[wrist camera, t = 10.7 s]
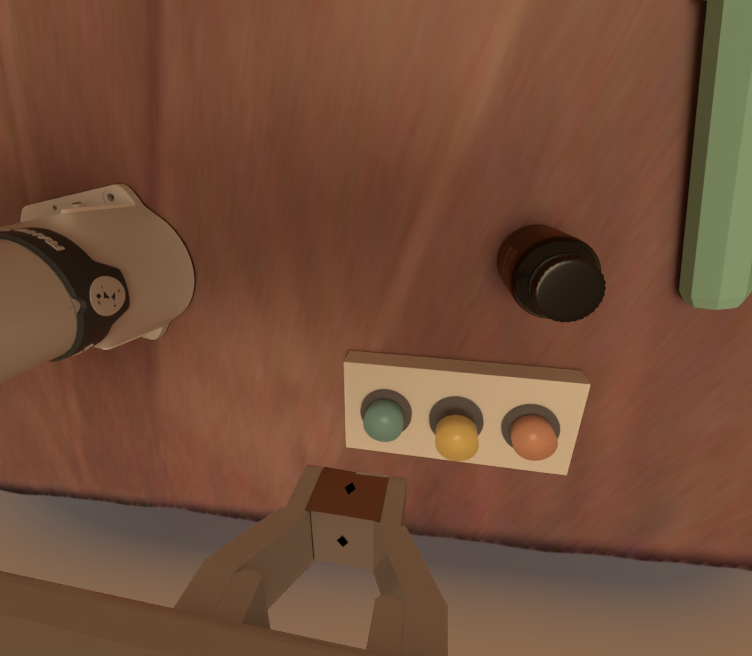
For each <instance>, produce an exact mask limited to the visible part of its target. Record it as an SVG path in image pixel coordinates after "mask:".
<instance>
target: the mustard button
mask: <svg viewBox="0 0 752 656" xmlns="http://www.w3.org/2000/svg"><path fill="white" fill-rule="evenodd" d="M435 446H436V449H437V451H438V452H439V453H440V454H441V455H442V456H443V457H444V458H446V459H449V460H452V461H465V460H468V459H470V458H472V457H473V456H474V455H475V454H476V453H477V451H478V448H479V442H478V433H477V428H476V426H475V424H474V423H473V422H472V421H471V420H470V419H468V418H467V417H464V416H461V415H450V416H447V417H445V418H443V419H441V420H440V421H439V423H438V424H437V426H436V435H435Z"/></svg>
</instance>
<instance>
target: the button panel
mask: <svg viewBox="0 0 752 656" xmlns="http://www.w3.org/2000/svg"><path fill="white" fill-rule="evenodd" d="M590 385H591V384H590V383H589V381H588V380H587V378H586V377H585V376H584V374H583V373H582V371H581V370H571V369H559V368H547V367H536V366H524V365H513V364H501V363H489V362H478V361H466V360H454V359H443V358H431V357H420V356H408V355H396V354H385V353H373V352H362V351H349V353H348V355H347V357H346V359H345V360H344V391H345V429H346V447H350V448H358V449H366V450H374V451H381V452H389V453H397V454H405V455H413V456H420V457H428V458H436V459H444V460H449V459H446V458H444V457H443V456H442V455H441V454H440V453H439V452H438V451H437V449H436V446H435V435H436V426H437V424H438V423H439V421H440V420H441V419H443V418H445V417H447V416H450V415H461V416H464V417H467V418H468V419H470V420H471V421H472V422H473V423H474V424H475V426H476V428H477V433H478V442H479V448H478V451H477V453H476V454H475V455H474V456H473V457H472V458H470V459H468V460H465V461H459V462H467V463H475V464H483V465H491V466H498V467H506V468H514V469H522V470H530V471H537V472H545V473H553V474H561V475H567V472H568V468H569V464H570V461H571V457H572V453H573V449H574V445H575V442H576V438H577V434H578V430H579V427H580V423H581V419H582V415H583V411H584V408H585V404H586V400H587V396H588V392H589V389H590ZM378 399H389V400H392V401H394V402H396V403H397V404H398V405H399V406H400V407H401V408H402V410H403V412H404V423H403V428H402V432H401V434H400V436H399V437H398V438H397V439H395V440H393V441H390V442H380V441H377V440H374V439H373V438H371V437H370V436H369V435H368V434H367V433H366V432H365V430H364V427H363V420H364V417H365V414H366V411H367V408H368V406H369V405H370V404H371V403H372V402H373V401H375V400H378ZM525 415H539V416H542V417H544V418H545V419H547V420H548V421H549V422H550V423H551V425H552V428H553V430H554V432H555V435H556V437H557V440H558V447H557V449H556V451H555V453H554V454H553V455H551V456H550V457H548V458H546V459H544V460H539V461H531V460H527V459H524V458H522V457H520V456H519V455H518V454H517V453H516V452H515V450H514V448H513V444H512V440H511V436H510V427H511V425H512V423H513V422H514V421H515V420H516V419H518V418H520V417H522V416H525Z"/></svg>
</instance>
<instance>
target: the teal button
mask: <svg viewBox="0 0 752 656" xmlns="http://www.w3.org/2000/svg"><path fill="white" fill-rule="evenodd" d="M403 423H404V412H403V410H402V408H401V407H400V406H399V405H398V404H397V403H396V402H394V401H392V400H389V399H378V400H375V401H373V402H372V403H371V404H370V405H369V406H368V408H367V411H366V414H365V417H364V420H363V427H364V430H365V432H366V433H367V434H368V435H369V436H370V437H371V438H373V439H374V440H377V441H380V442H390V441H393V440H395V439H397V438H398V437H399V436H400V434H401V432H402V428H403Z"/></svg>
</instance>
